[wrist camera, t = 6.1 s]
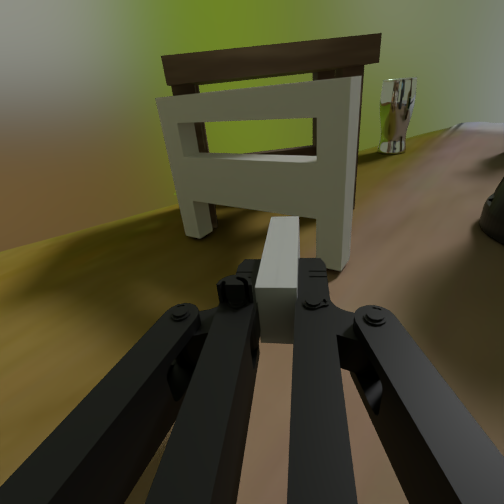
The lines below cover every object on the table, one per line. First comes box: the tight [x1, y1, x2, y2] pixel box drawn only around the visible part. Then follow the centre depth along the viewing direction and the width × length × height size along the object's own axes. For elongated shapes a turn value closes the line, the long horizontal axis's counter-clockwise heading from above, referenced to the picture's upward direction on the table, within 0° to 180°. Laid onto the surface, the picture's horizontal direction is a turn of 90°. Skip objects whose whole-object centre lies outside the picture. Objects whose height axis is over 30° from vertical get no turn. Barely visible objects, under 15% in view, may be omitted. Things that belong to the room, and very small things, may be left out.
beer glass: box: [377, 77, 417, 154], centre depth 68 cm, size 7×7×15 cm
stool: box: [161, 33, 381, 228], centre depth 41 cm, size 16×22×20 cm
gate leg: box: [155, 76, 362, 271], centre depth 31 cm, size 2×20×16 cm, turn 57°
